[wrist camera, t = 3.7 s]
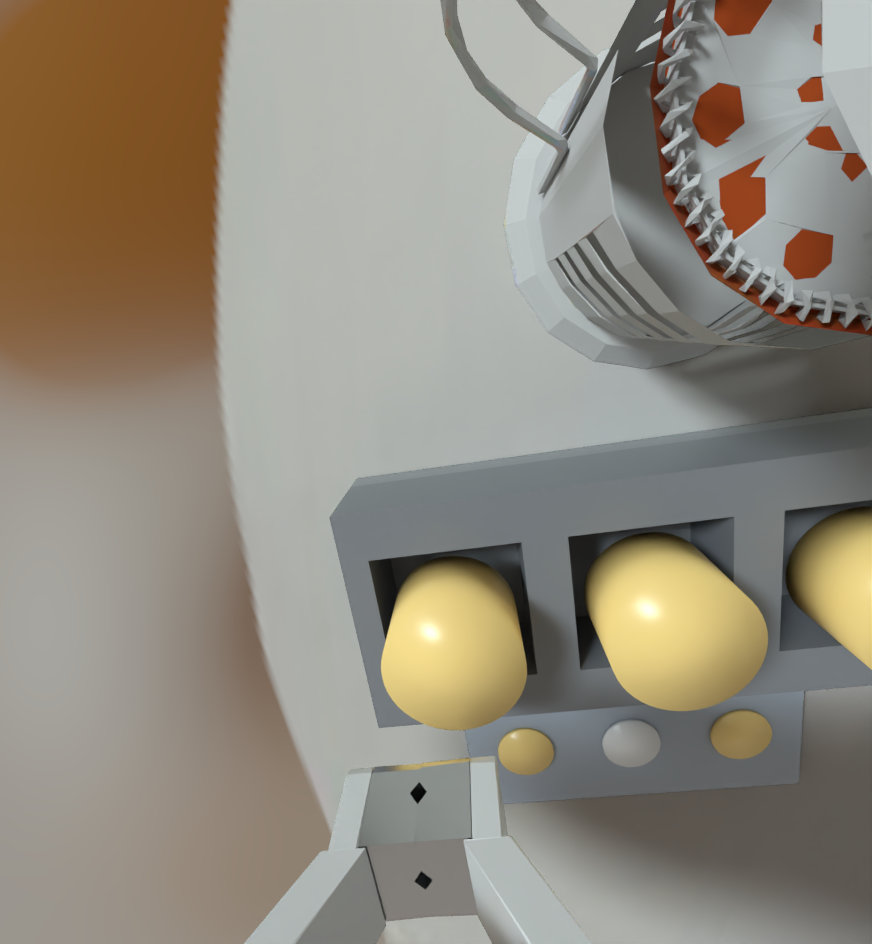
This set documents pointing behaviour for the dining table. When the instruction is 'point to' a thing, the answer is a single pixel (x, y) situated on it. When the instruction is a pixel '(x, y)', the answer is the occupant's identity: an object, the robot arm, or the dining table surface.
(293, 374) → the dining table surface
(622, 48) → the french press
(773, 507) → the button board
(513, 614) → the left button
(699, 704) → the middle button
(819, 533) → the right button
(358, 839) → the robot arm
